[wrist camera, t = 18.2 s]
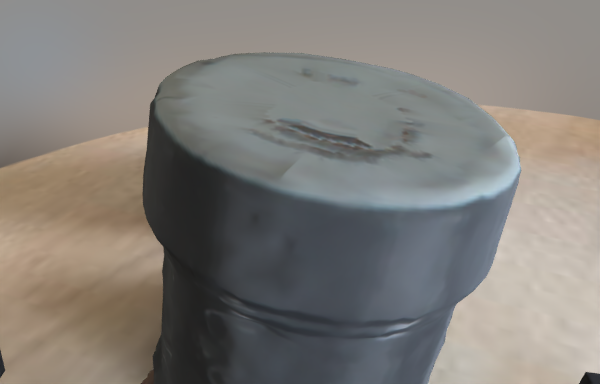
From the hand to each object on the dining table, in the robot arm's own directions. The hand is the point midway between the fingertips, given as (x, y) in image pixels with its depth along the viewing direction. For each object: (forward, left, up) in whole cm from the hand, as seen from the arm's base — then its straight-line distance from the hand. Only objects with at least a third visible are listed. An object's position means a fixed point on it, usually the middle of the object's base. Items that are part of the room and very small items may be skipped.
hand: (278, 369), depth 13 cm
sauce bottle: (+3, +2, -12) cm, 13 cm away
